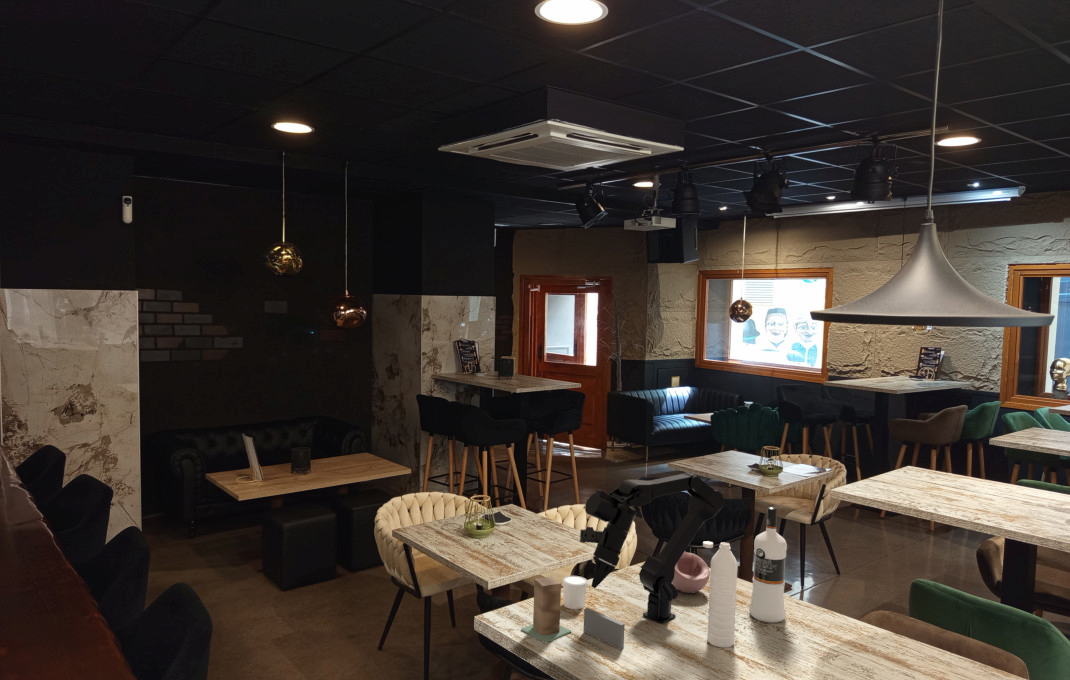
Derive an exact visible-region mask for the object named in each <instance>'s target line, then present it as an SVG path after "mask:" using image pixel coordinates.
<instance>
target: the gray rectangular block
mask: <svg viewBox="0 0 1070 680" xmlns="http://www.w3.org/2000/svg"><path fill="white" fill-rule="evenodd" d="M583 610H584V611H583V633H584V634H586V633H587V634H586V635H588V634H589V635H588V636H590V635H591V636H590V637H592V636H594V637H593V638H595V637H596V638H595V639H597V638H598V639H597V640H599V639H600V640H599V641H601V640H602V641H601V642H603V641H604V642H603V643H605V642H606V643H605V644H607V643H608V645H610V646H612V647H614V648H616V649H618V650H622V649H624V648H625V626H626V623H623V622H621V621H619V620H617V619H615V618H612V617H610V616H607V615H605V614H604V613H603V614H602V613H600V612H598V611H596V610H594V609H591V608H589V607H586V608H584V609H583Z"/></svg>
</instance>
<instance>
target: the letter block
mask: <svg viewBox="0 0 1070 680" xmlns="http://www.w3.org/2000/svg"><path fill="white" fill-rule="evenodd" d="M533 587H534V590H533V613H532V614H533V615H532V617H533V618H532V620H533V621H532V624H533V628H534V629H535V630H536V631H537V632H538V633H539V634H540V635H541V636H542V635H547V634H553V633H558V632H559V629H560V626H561V624H560V623H561V622H560V621H561V601H562V600H561V597H562V583H561V582H560V581H558V579H556V578H555V577H554V576H546V577H538V578H534V585H533Z"/></svg>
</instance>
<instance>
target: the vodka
mask: <svg viewBox="0 0 1070 680" xmlns="http://www.w3.org/2000/svg"><path fill="white" fill-rule="evenodd" d="M766 512H767V513H766V526H765V527H766V528H765V531H763V532H761V533H759V534H757V535H756V536H755V539H754V540H753V542H754V543H753V545H754V549H753V553H754V557H753V558H754V559H753V560H754V561H753V577H752V592H751V600H750V604H749V607H748V608H749V615H751V617H752V618H754V619H756V620H757V621H761V622H764V623H770V624H775V623H780V622H783V621H784V620H785V618H786V609H785V595H784V594H785V585H786V582H785V570H786V558H787V548H788V544H787V540H786V539H785V538H784V537H783V536H782V535H780V534H779V533H778V532H777V521H778V520H777V519H778V508H777V507H774V506H767V508H766Z"/></svg>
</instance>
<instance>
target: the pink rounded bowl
mask: <svg viewBox="0 0 1070 680" xmlns="http://www.w3.org/2000/svg"><path fill="white" fill-rule="evenodd" d="M710 571H711V570H710V568H709V566H708V564H707V563H706V562H705V561H704V560H703V558H701V557H700V556H698V555H697V554H695V553H692V552H687V551H685V552H684V553H683V555H682V556H681V558H680V559H679V561H678V562H677V564H676V565H675V573H674V579H673V581H672V584H673V585H674V586H675V587H676V588H677V590H678V591H680V592H682V593H686V594H693V593H697V592H699V591H701V590H702V589H704V587H706V585H707V584H708V581H710V580H709V579H710V574H711V573H710Z"/></svg>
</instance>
